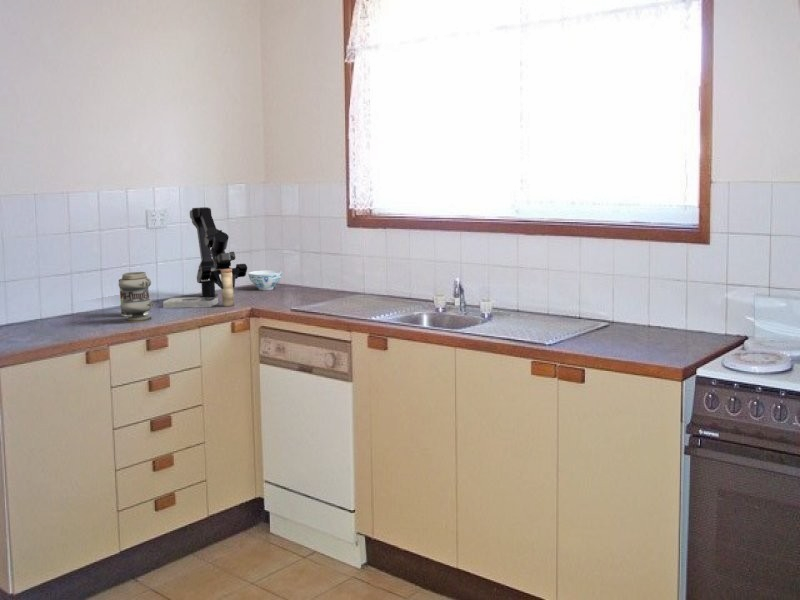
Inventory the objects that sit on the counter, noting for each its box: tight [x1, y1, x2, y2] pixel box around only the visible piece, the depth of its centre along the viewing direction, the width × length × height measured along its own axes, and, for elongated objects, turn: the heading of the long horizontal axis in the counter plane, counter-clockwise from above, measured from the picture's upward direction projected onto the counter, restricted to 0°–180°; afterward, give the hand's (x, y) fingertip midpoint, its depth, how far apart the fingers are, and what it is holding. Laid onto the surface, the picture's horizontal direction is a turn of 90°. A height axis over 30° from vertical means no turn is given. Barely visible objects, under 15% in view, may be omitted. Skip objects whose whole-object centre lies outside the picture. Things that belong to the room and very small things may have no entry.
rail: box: [162, 296, 219, 309], centre depth 391 cm, size 10×20×2 cm, turn 85°
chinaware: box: [248, 269, 283, 291], centre depth 432 cm, size 15×15×8 cm
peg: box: [220, 269, 235, 308], centre depth 385 cm, size 4×4×15 cm
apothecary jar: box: [118, 271, 154, 323], centre depth 357 cm, size 12×12×18 cm
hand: (228, 287), depth 384 cm, fingers closed on peg, 4 cm apart
